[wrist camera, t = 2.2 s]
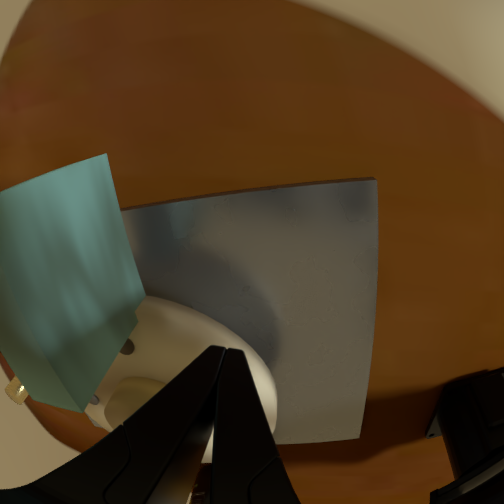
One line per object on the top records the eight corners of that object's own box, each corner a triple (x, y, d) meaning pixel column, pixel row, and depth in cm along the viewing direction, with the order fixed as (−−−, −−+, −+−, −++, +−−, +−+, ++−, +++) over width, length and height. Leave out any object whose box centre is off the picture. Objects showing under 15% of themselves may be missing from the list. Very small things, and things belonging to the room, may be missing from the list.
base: (358, 431, 20) (366, 501, 14) (97, 421, 23) (72, 471, 18) (373, 177, 13) (429, 225, 7) (0, 235, 16) (-62, 277, 11)
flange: (286, 450, 17) (280, 535, 11) (116, 436, 19) (88, 501, 13) (234, 124, 10) (167, 141, 4) (-3, 192, 11) (-95, 240, 6)
